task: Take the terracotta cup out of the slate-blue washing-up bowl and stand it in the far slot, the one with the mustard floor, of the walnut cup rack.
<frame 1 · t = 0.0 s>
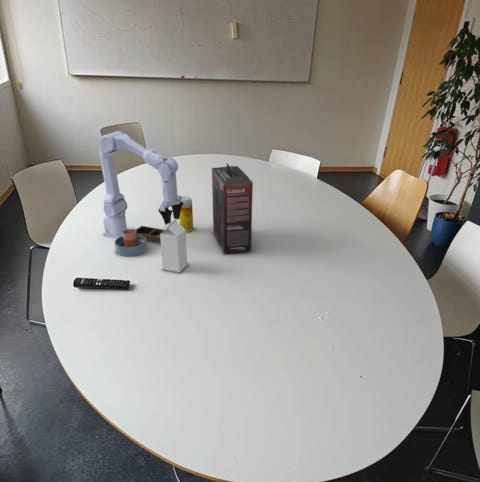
hand: (172, 222, 182), 10 cm above the table, tool pointing down, fingers open, 7 cm apart
bowl: (131, 250, 182), on the table
beer can: (186, 230, 201), on the table
cup: (131, 249, 181), resting on bowl
milk carton: (175, 267, 170), on the table
headset box: (231, 241, 191), on the table
rack: (153, 239, 192), on the table
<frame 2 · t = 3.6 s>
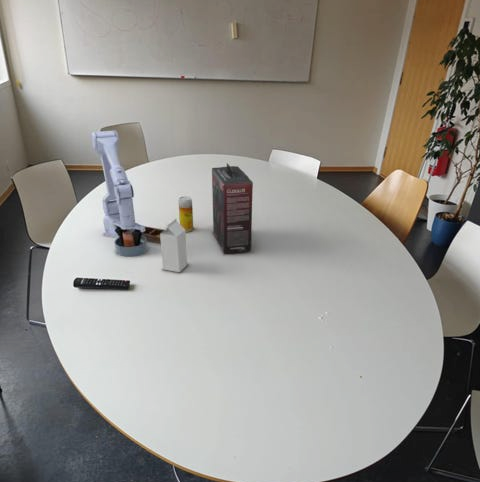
hand: (131, 245, 180), 3 cm above the table, tool pointing down, fingers closed on cup, 6 cm apart
cup: (131, 249, 181), point 1 cm above the table, touching bowl, gripper
everything else where it was.
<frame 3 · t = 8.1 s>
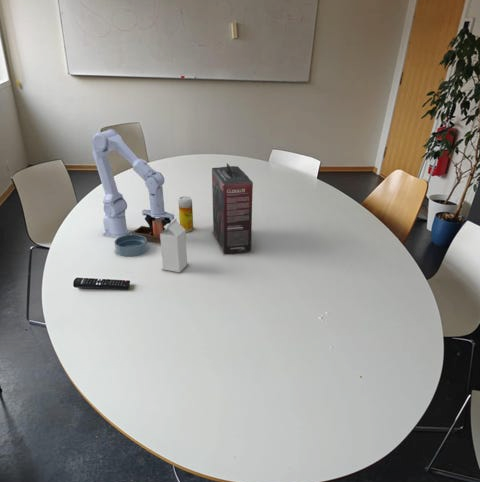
hand: (159, 232, 189), 4 cm above the table, tool pointing down, fingers closed on cup, 6 cm apart
cup: (160, 237, 190), point 2 cm above the table, touching gripper
everything else where it was.
when the fingers open (5 cm above the table, at t = 16.8 s): cup drops 2 cm, resting on rack.
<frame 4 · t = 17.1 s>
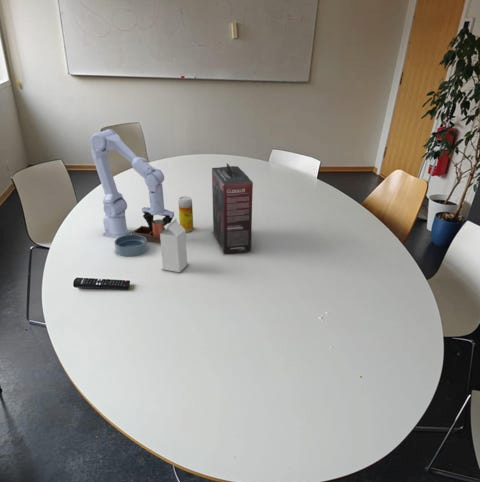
hand: (159, 230, 188), 5 cm above the table, tool pointing down, fingers open, 7 cm apart
cup: (160, 239, 190), point 1 cm above the table, touching rack
everything else where it was.
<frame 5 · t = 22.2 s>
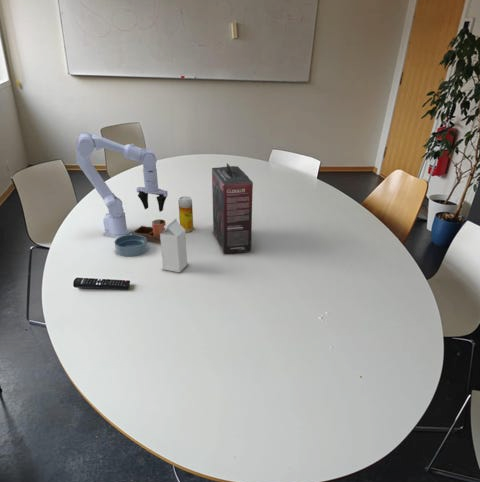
hand: (153, 209, 195), 10 cm above the table, tool pointing down, fingers open, 7 cm apart
nothing on the table moved.
at the end: cup 0.0 cm from the target spot in the rack, point 0.7 cm above the rack's base; cup tilted 0°; the gripper is holding nothing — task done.
